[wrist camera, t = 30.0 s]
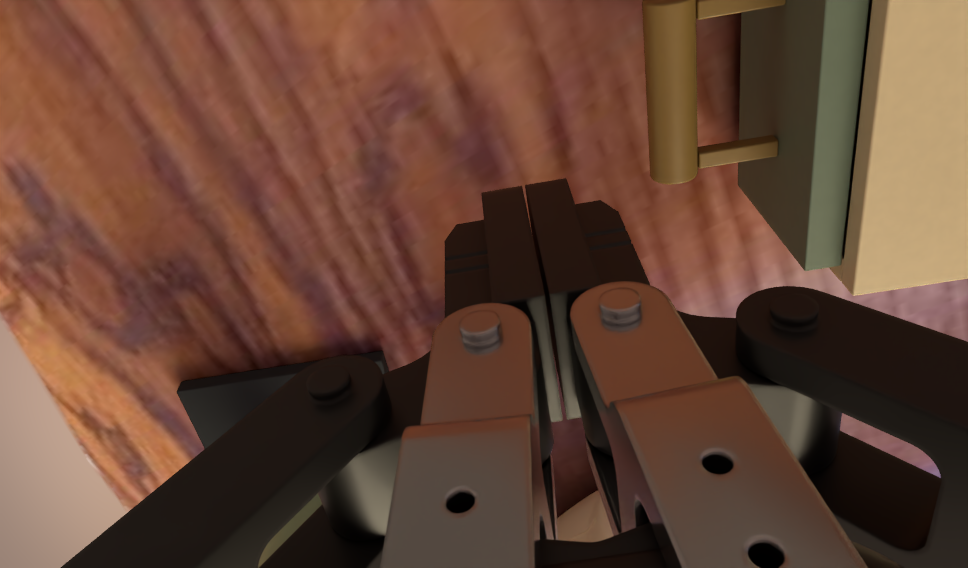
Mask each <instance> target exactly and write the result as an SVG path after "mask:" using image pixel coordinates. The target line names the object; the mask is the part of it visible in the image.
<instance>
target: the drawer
mask: <svg viewBox="0 0 968 568" xmlns="http://www.w3.org/2000/svg"><path fill="white" fill-rule="evenodd" d="M872 1H873V0H643V2H642V11H643V32H644V53H645V74H646V95H647V116H648V137H649V158H650V176H651V178H652V179H653V180H654V181H656V182H658V183H662V184H680V183H685V182H688V181H690V180H692V179H694V178H695V177H696V175H697V173H698V167H699V168H707V167H713V166H719V165H725V164H732V163H738V186H739V187H740V188H741V189H742V191H743V192H744V193H745V195H746V196H747V197H748V198H749V200H750V201H751V202H752V204H753V205H754V206H755V207H756V209H757V210H758V211H759V213H760V214H761V215H762V216H763V218H764V219H765V220H766V222H767V223H768V224H769V225H770V227H771V228H772V229H773V231H774V232H775V233H776V234H777V236H778V237H779V238H780V240H781V241H782V242H783V243H784V245H785V246H786V247H787V249H788V250H789V251H790V252H791V254H792V255H793V256H794V258H795V259H796V260H797V261H798V263H799V264H800V265H801V267H802V268H803V269H804V270H805V271H809V270H815V269H822V268H828V267H835V266H840V265H841V258H842V248H843V239H844V230H845V221H846V211H847V202H848V199H849V200H851V191H852V182H853V173H854V164H855V155H856V146H857V137H858V128H859V118H860V109H861V100H862V91H863V82H864V73H865V64H866V55H867V46H868V37H869V28H870V19H871V10H872ZM736 13H741V57H740V106H739V140H738V141H732V142H726V143H720V144H714V145H708V146H701V147H697V56H696V18H697V19H699V20H701V19H707V18H713V17H718V16H724V15H730V14H736Z"/></svg>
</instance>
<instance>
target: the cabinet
mask: <svg viewBox="0 0 968 568" xmlns="http://www.w3.org/2000/svg"><path fill="white" fill-rule="evenodd" d="M829 268H830V269H831V271H832V272H833V273H834V274H835V275H836V276H837V278H838V279H839V280H840V281H842V283H843V284H844V285H845V287H846V288H847V289H848V290H849V291H850V293H851V294H852V295H861V294H868V293H875V292H881V291H888V290H894V289H901V288H908V287H914V286H921V285H927V284H934V283H941V282H947V281H954V280H960V279H967V278H968V0H873V1H872V10H871V19H870V28H869V37H868V46H867V55H866V64H865V73H864V82H863V91H862V100H861V109H860V118H859V128H858V137H857V146H856V155H855V164H854V173H853V182H852V191H851V200H849V199H848V202H847V211H846V221H845V230H844V239H843V248H842V258H841V265H840V266H835V267H829Z"/></svg>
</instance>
